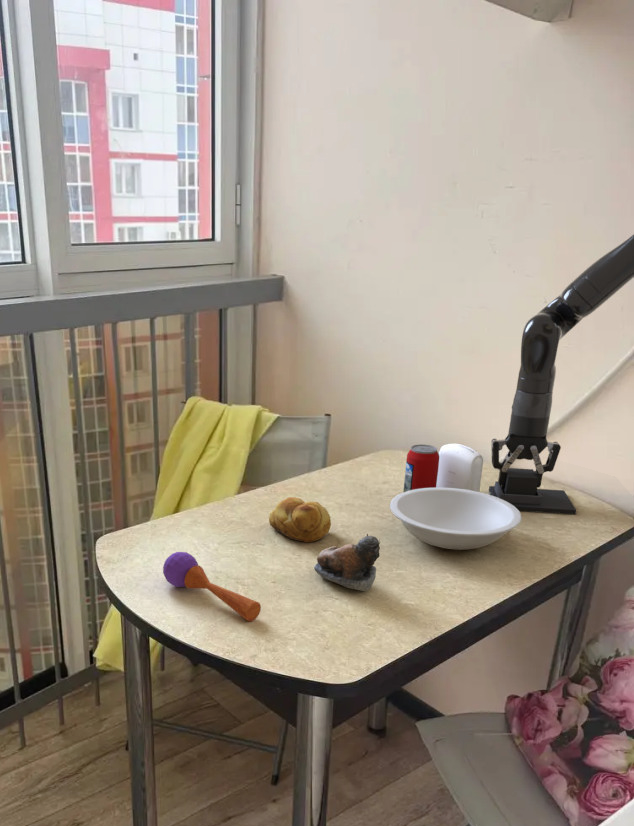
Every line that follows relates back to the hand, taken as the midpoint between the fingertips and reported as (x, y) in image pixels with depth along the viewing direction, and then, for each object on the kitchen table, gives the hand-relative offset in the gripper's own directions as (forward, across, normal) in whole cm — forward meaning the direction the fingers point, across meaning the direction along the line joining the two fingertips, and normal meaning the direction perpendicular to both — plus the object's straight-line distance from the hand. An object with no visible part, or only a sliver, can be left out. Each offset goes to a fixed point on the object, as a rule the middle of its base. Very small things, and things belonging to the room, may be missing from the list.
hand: (518, 487), depth 167 cm
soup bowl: (+3, -16, -24) cm, 29 cm away
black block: (+1, 0, 0) cm, 1 cm away
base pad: (+3, +3, 0) cm, 4 cm away
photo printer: (+3, -13, -2) cm, 14 cm away
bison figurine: (+3, -35, -46) cm, 58 cm away
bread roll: (+3, -45, -26) cm, 52 cm away
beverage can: (+3, -21, -4) cm, 22 cm away
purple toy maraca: (+3, -57, -56) cm, 80 cm away
